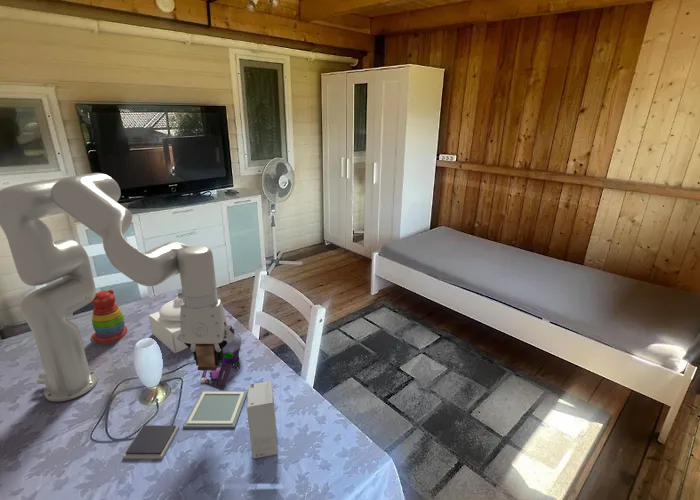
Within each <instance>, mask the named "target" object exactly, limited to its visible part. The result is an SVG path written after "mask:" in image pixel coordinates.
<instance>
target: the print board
mask: <svg viewBox="0 0 700 500" xmlns="http://www.w3.org/2000/svg"><path fill="white" fill-rule="evenodd" d="M247 394H248V390H201V392H200V393H199V395H198V397H197V399H196V401H195V402H194V405H193V407H192V409H191V410H190V412H189V414H188V416H187V418H186V420H185V421H184V424H183V425H182V428H183V429H236V426H237V423H238V420H239V418H240V415H241V413H242V409H243V406H244V404H245V402H246V398H247Z"/></svg>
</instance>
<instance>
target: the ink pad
mask: <svg viewBox="0 0 700 500" xmlns="http://www.w3.org/2000/svg"><path fill="white" fill-rule="evenodd" d="M179 429H180V425H155V424H154V425H142V426H141V427H140V429H139V431H137V433H136V435H135V437H133V439H132V441H131V442H130V444H129V445H128V447H127V448H126V450H125V451H124V453H123V455H122V459H125V460H127V459H129V460H136V459H138V460H141V459H142V460H143V459H144V460H151V459H152V460H156V459H157V460H159V459H160V460H163V459H164V457H165V454H166V453H167V451H168V450H169V448H170V446H171V444H172V442H173V441H174V438H175V437H176V436H177V433H178V431H179Z"/></svg>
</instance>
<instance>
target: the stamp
mask: <svg viewBox="0 0 700 500" xmlns="http://www.w3.org/2000/svg"><path fill="white" fill-rule="evenodd" d="M195 349H196V355H197V362H198V365H197V371H202V372H203V371H207V372H211V371H216V369H217V368H218V367H219V366H216V364H215V356H214V352H215V347H214V344H196V346H195Z"/></svg>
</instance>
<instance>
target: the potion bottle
mask: <svg viewBox="0 0 700 500" xmlns="http://www.w3.org/2000/svg"><path fill="white" fill-rule="evenodd" d="M227 328H228V329H229V330H230V331H231V332H232V333H233V334H234V335H235V338H234V340H233V341H232V342H230V343H228V344H227V345H226V346H225V347H224V348H223V360H222V361H221V362H222V363H225V364H232V363H235V362H236V361H237V360H238V359H239V354H240V350H241V347H242V346H241V345H242V337H241V336H240V335H237V334H235V329H234V328H233V326H232V325H227ZM225 338H227V337H226V336H224V339H225ZM237 358H238V359H237ZM236 359H237V360H236ZM235 360H236V361H235Z"/></svg>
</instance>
